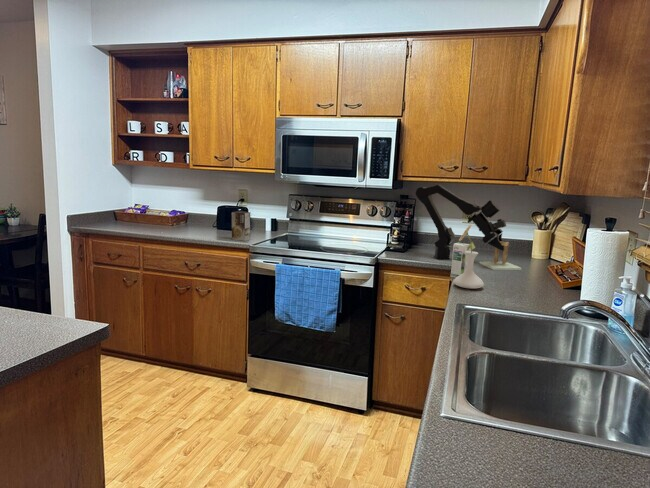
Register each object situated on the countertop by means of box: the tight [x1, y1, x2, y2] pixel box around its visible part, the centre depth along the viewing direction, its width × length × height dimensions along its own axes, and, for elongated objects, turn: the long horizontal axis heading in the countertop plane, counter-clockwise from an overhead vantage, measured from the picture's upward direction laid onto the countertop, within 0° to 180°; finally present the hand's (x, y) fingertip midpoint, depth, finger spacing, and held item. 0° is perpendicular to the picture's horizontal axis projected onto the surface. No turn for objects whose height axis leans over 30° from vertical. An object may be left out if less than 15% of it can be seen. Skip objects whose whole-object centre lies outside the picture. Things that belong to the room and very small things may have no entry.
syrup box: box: [450, 242, 471, 279], centre depth 193 cm, size 6×6×14 cm
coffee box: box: [231, 211, 251, 242], centre depth 265 cm, size 9×6×16 cm
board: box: [478, 260, 523, 271], centre depth 220 cm, size 14×14×1 cm
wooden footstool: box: [493, 240, 510, 264], centre depth 219 cm, size 5×5×10 cm
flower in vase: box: [453, 223, 485, 290], centre depth 176 cm, size 13×11×25 cm
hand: (504, 249), depth 218 cm, fingers closed on wooden footstool, 5 cm apart
